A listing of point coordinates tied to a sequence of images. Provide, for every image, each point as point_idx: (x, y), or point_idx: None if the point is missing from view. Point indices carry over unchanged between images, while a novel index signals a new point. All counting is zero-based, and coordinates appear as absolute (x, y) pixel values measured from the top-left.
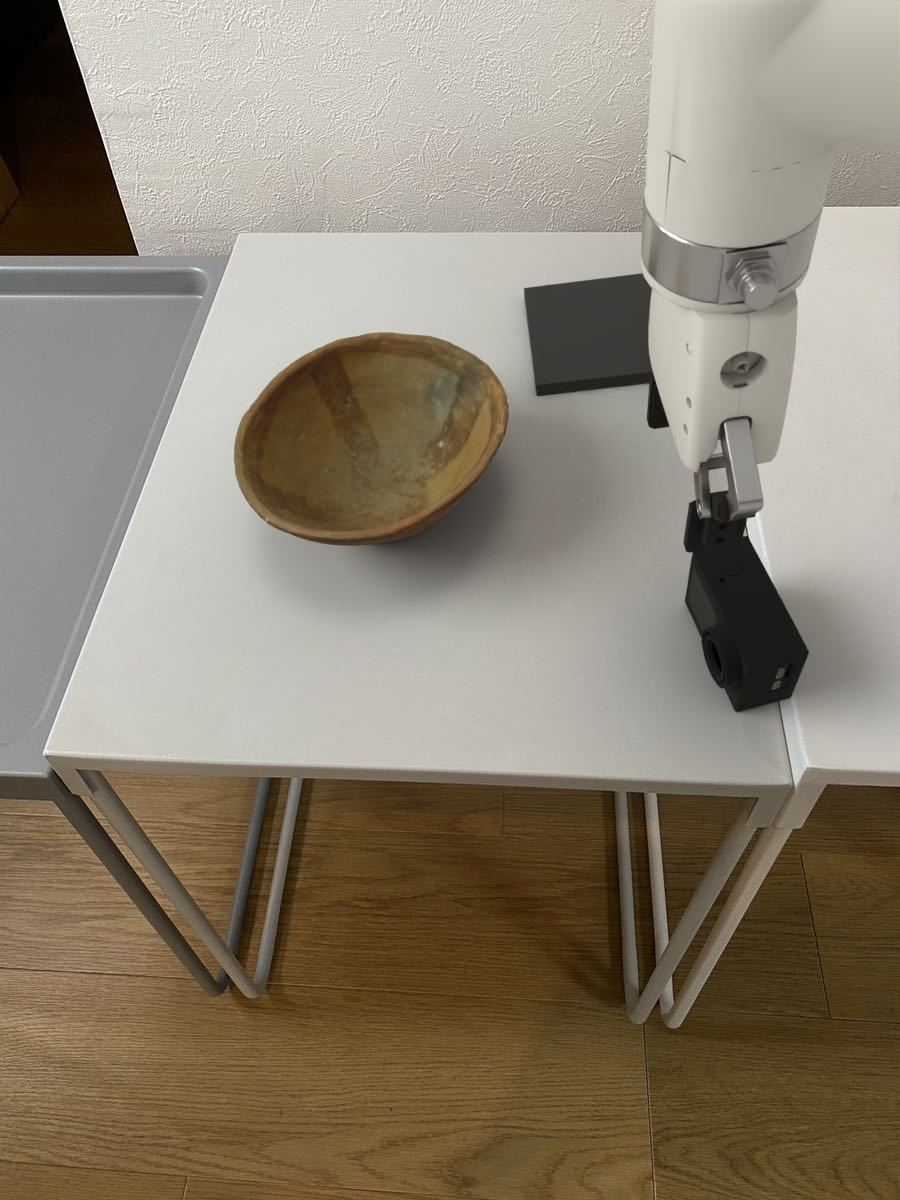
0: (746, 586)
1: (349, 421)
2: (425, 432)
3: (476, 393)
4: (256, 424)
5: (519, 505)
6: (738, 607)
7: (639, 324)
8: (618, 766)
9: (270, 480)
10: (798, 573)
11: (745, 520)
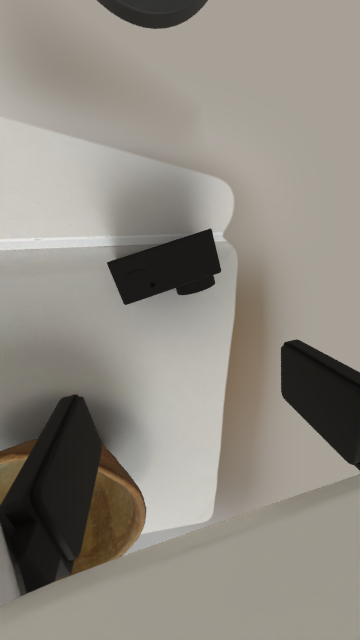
0: (156, 268)
1: None
2: (18, 463)
3: None
4: None
5: (63, 389)
6: (174, 275)
7: None
8: (228, 326)
9: (89, 539)
10: (99, 215)
11: (335, 361)
